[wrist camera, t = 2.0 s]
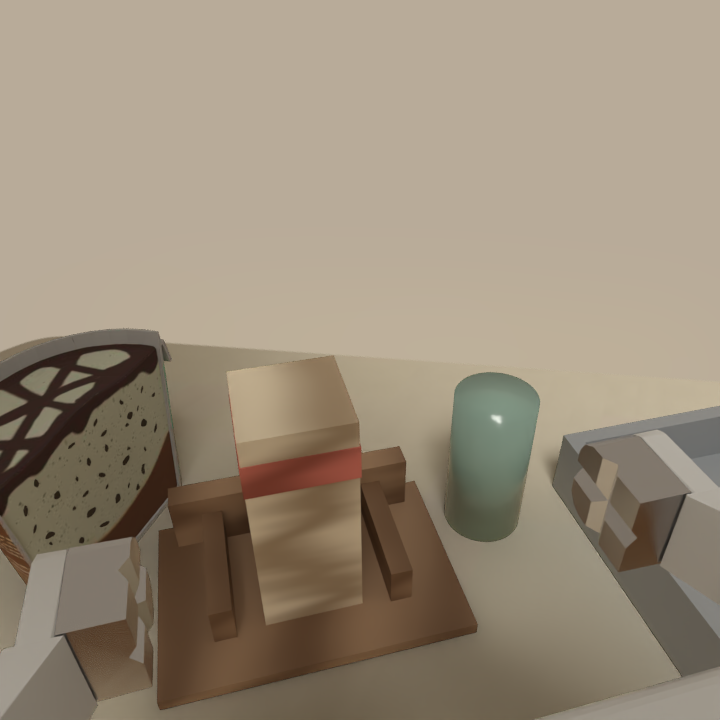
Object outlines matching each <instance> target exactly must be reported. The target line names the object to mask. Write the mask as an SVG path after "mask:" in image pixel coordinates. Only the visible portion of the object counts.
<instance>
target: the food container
mask: <svg viewBox="0 0 720 720" xmlns="http://www.w3.org/2000/svg"><path fill="white" fill-rule="evenodd" d="M164 361H171V356H170V354H169V352H168V349H167V347H166V344H165V342H164V340H162V339H160V336H159V332H157V331H150V330H143V329H106V330H98V331H90V332H84V333H79V334H74V335H69V336H65V337H62V338H58V339H54V340H51V341H48V342H45V343H42V344H39V345H36V346H33V347H31V348H29V349H26V350H24V351H22V352H19V353H17V354H15V355H13V356H11V357H9V358H7V359H5V360H3V361H1V362H0V549H1V550H2V552H3V553H4V554H5V556H6V557H7V558H8V560H9V561H10V563H11V564H12V565H13V567H14V568H15V570H16V571H17V572H18V574H19V575H20V577H21V578H22V579H23V581H24V582H25V584H26V585H27V583H28V578H29V573H30V568H31V564H32V562H33V560H34V559H35V557H36V555H37V554H42V553H47V552H53V551H58V550H64V549H69V548H72V547H78V546H83V545H89V544H95V543H100V542H106V541H112V540H117V539H123V538H128V537H135V538H136V540H137V543H138V541H139V540H140V539H141V538H142V536H143V535H144V534H145V533H146V531H147V530H148V529H149V528H150V526H151V525H152V524H153V523H154V521H155V520H156V519H157V518H158V516H159V515H160V514H161V512H162V511H163V510H164V509H165V507H166V506H167V505H168V488H174V487H179V486H182V484H181V477H180V470H179V463H178V457H177V450H176V443H175V436H174V429H173V422H172V415H171V409H170V402H169V395H168V388H167V381H166V374H165V367H164Z"/></svg>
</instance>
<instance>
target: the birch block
mask: <svg viewBox="0 0 720 720" xmlns="http://www.w3.org/2000/svg"><path fill="white" fill-rule="evenodd" d="M226 374H227V382H228V389H229V401H230V408H231V416H232V423H233V431H234V438H235V446H236V453H237V461H238V468H239V474H240V480H241V486H242V492H243V498H244V500H245V502H246V508H247V514H248V520H249V526H250V532H251V538H252V544H253V550H254V556H255V562H256V568H257V574H258V580H259V586H260V592H261V598H262V604H263V610H264V616H265V622H266V625H270V624H274V623H278V622H283V621H287V620H291V619H296V618H300V617H305V616H309V615H313V614H318V613H322V612H326V611H331V610H335V609H340V608H344V607H348V606H353V605H357V604H361V603H363V601H362V547H361V494H360V478H362V464H361V445H360V440H359V421H358V418H357V415H356V413H355V410H354V408H353V405H352V402H351V400H350V397H349V395H348V392H347V389H346V387H345V384H344V381H343V379H342V376H341V374H340V371H339V368H338V366H337V363H336V361H335V358H334V355H333V356H326V357H320V358H313V359H307V360H300V361H293V362H287V363H280V364H273V365H267V366H260V367H254V368H247V369H240V370H234V371H227V372H226Z"/></svg>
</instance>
